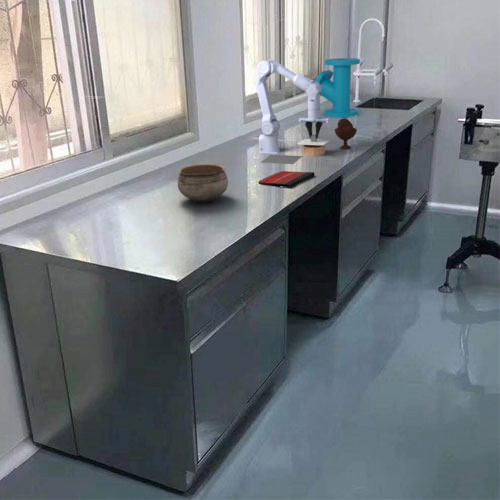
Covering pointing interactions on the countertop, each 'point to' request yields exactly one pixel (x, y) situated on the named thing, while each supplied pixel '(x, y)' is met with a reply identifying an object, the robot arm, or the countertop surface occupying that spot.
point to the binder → (286, 178)
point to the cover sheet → (319, 142)
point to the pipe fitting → (338, 86)
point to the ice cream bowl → (345, 132)
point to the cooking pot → (202, 181)
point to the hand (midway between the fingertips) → (313, 137)
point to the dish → (313, 150)
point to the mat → (281, 159)
